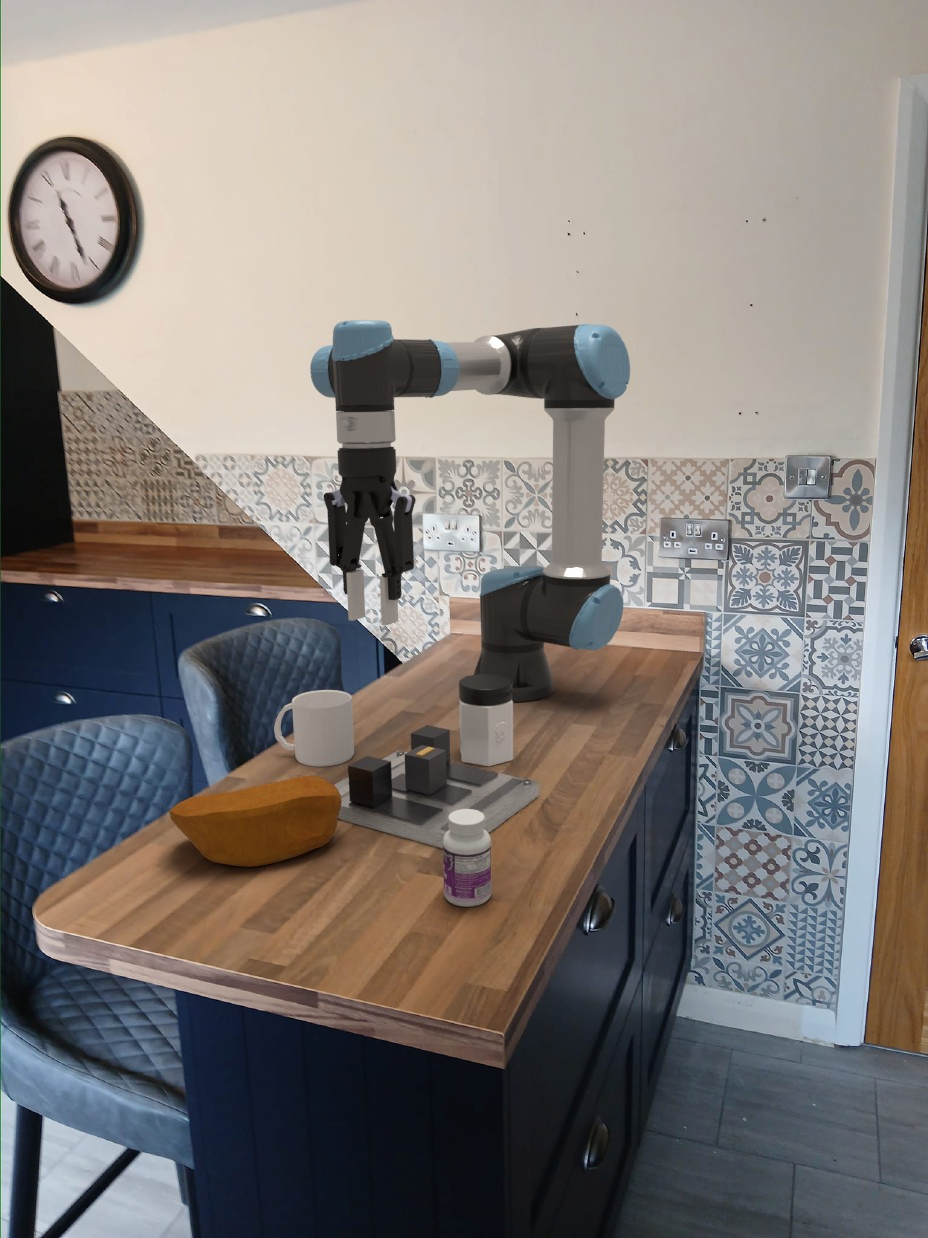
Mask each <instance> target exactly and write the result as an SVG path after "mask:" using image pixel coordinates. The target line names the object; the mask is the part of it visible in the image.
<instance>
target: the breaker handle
mask: <svg viewBox="0 0 928 1238" xmlns="http://www.w3.org/2000/svg"><path fill="white" fill-rule="evenodd" d="M407 752H408V753H406V754H405V784H406V789H408V790H412V791H416V792H420V793H423V794H427V795H431V794H433V793H434V792H436V791H438V790H439V789H441V788H442V787H444V786H446V785H447V777H446V750H442V749H438V748H433V747H429V746H424V745H421V746H419V747H417V748H415V749H413V750H410V751H407Z"/></svg>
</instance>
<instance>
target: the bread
mask: <svg viewBox="0 0 928 1238" xmlns="http://www.w3.org/2000/svg"><path fill="white" fill-rule="evenodd" d="M341 803H342V800H341V795H340V793H339V791H338V790H337V788H336V787H335V786H334V784H333V783H331V782H329V781H328V780H326V779H324V778H322V777H320V776H316V775H303V776H298V777H293V778H288V779H284V780H280V781H274V782H269V783H264V784H258V785H255V786H250V787H246V788H243V789H241V788H240V789H238V790H233V791H227V792H219V793H212V794H204V795H203V794H202V795H197V796H192V797H190V798H189V797H188V798H187V799H185V800H182V801H180V802H178V803H177V804H176V805H175V806H173V807H172V808H171V809H169V817H170V820H171V821H172V823H173V824H174V825H175V826H176V827H177V829H179V831H180V832H181V833H183V834H184V836H185V837H187V840H189V841H190V843H192V844H193V846H194V847H195V848H196V849H197V850H198V852H199V853H200V854H201V855H202V857H204V858H206V859H207V860H209V861H210V862H213V863H216V864H222V865H229V866H236V867H247V868H249V867H250V868H251V867H258V866H266V865H270V864H274V863H278V862H281V861H282V862H283V861H285V860H288V859H292V858H296V857H298V856H300V855H303V854H305V853H308V852H311V851H313V850H315V849H318V848H322V847H324V846H325V845H327V844H328V843H330V841H331V839H332V838H333V836H334V835H335V833H336V830H337V827H338V819H337V818H338V814H339V811H340V808H341Z"/></svg>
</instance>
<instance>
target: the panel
mask: <svg viewBox="0 0 928 1238" xmlns="http://www.w3.org/2000/svg"><path fill="white" fill-rule="evenodd" d="M450 731H451V730H450V729H448V728H443V727H437V726H433V725H426V724H425V725H424V726H422V727H420V728H418V729H416V730H415V731H413V732H411V733H410V749H411V750H413V749H415V748H417V747H419V746H421V745H424V746H429V747H433V748H438V749H442V750H446V777H447V785H446V786H444V787H442V788H441V789H439V790H438V791H436V792H434V793H433V794H431V795H427V794H423V793H420V792H416V791H412V790H408V789H406V784H405V754H406V753H408V752H409V751H404V750H399V749H398V750H397V751H395V752H393V753H391V754H389V755H387V756H386V757H384V758H382V759H381V758H378V757H373V756H370V755H366V756H364V757H362V758H360V759H358V760H356V761H354V762H353V763H350V764H349V765H347V768H348V769H347V772H348V774H347V775H348V777H346V778H344V779H342V780H340V781H338V782H336V783H335V784H334V786H335V787H336V788H337V790H338V791H339V793H340V795H341V800H342V803H341V808H340V811H339V814H338V818H337V820H341V821H344V822H348V823H351V824H355V825H358V826H361V827H365V828H369V829H372V830H376V831H380V832H383V833H387V834H389V835H393V836H396V837H401V838H404V839H408V840H410V841H415V842H418V843H421V844H425V845H429V846H431V847H435V848H439V849H442V850H443V837H444V835H445V834H446V832H447V831H449V828H448V817H449V815H450V814H451V813H452V812H454V811H456V810H460V809H474V810H478V811H480V812H482V813H483V814H484V816H485V828H484V830H486V831H487V832H488V834H489V835H490V833H491V832H493V830H495V829H496V828H498V827H500V826H501V825H502V824H504V823H505V822H506V821H507V820H508V819H510V818H512V816H514V815H516V814H517V813H518V812H519V811H521V810H522V809H523V808H525V807H526V806H527V805H529V804H530V803H531V802H533V801H534V800H535V799H537V798H538V797H539V796H540V781H536V780H532V779H527V778H524V777H523V778H522V777H518V776H513V775H509V774H506V773H505V774H504V773H500V772H497V771H496V772H495V771H492V770H488V769H483V768H479V767H473V766H469V765H466V764H461V763H457V762H452V761H451V739H450V738H451V732H450ZM411 750H410V751H411Z"/></svg>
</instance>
